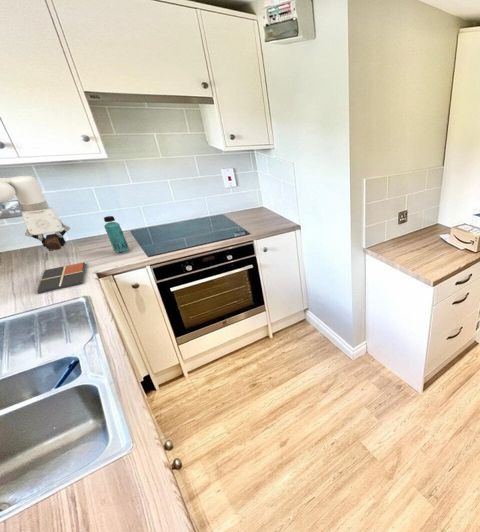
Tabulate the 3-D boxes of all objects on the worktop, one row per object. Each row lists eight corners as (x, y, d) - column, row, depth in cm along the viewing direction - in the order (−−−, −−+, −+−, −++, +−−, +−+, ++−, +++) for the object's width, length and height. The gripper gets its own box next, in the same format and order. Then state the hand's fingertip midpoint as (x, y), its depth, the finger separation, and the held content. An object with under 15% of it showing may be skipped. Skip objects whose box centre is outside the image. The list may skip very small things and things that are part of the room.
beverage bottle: (115, 255, 169) (100, 219, 160) (114, 251, 174) (99, 216, 165) (131, 252, 173) (116, 217, 164) (129, 248, 178) (116, 214, 168)
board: (38, 293, 136) (36, 291, 135) (46, 272, 152) (44, 269, 152) (82, 283, 144) (81, 281, 143) (85, 264, 160) (84, 262, 160)
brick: (50, 244, 145) (45, 234, 143) (62, 242, 147) (58, 232, 145) (48, 252, 138) (43, 242, 136) (61, 249, 140) (56, 239, 138)
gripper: (4, 212, 127) (27, 253, 136) (62, 205, 137) (80, 244, 145) (8, 207, 132) (30, 248, 141) (64, 201, 142) (81, 239, 150)
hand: (55, 246), depth 143 cm, fingers closed on brick, 4 cm apart
